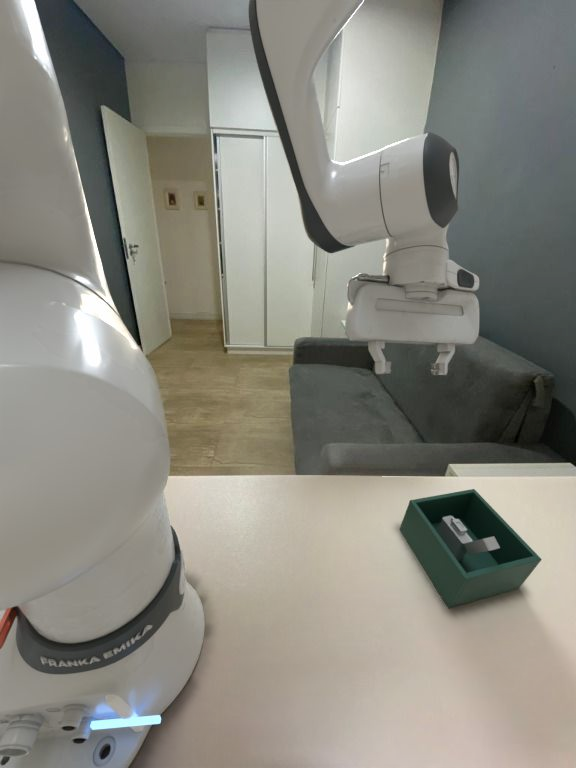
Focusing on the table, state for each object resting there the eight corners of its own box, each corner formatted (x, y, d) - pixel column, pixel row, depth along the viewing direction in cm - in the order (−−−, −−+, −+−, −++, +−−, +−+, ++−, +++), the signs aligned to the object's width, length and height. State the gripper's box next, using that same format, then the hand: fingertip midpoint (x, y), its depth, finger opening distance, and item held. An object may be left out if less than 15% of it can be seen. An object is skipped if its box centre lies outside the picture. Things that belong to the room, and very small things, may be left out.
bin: (448, 608, 38) (465, 579, 35) (399, 528, 48) (409, 500, 44) (519, 588, 41) (542, 559, 38) (460, 516, 50) (474, 488, 47)
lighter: (433, 536, 46) (450, 499, 42) (442, 533, 47) (460, 497, 43) (468, 584, 40) (491, 547, 36) (478, 581, 41) (503, 544, 37)
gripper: (359, 263, 39) (356, 373, 39) (489, 278, 44) (486, 375, 44) (338, 278, 45) (336, 373, 45) (454, 290, 50) (452, 375, 50)
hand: (411, 374), depth 45 cm, fingers open, 8 cm apart
